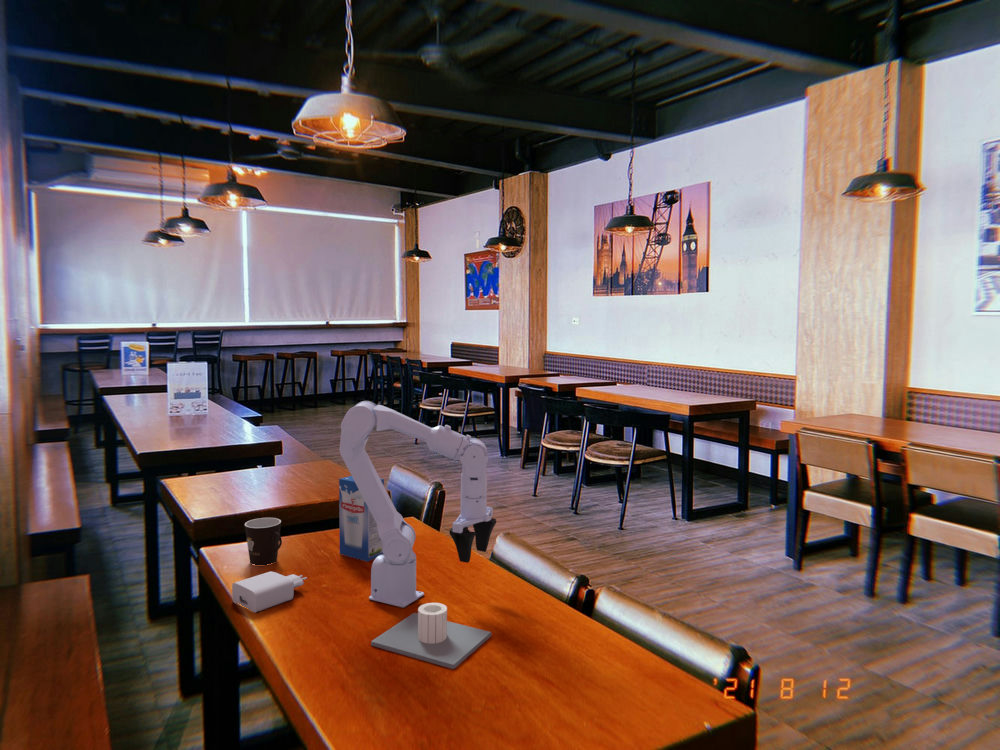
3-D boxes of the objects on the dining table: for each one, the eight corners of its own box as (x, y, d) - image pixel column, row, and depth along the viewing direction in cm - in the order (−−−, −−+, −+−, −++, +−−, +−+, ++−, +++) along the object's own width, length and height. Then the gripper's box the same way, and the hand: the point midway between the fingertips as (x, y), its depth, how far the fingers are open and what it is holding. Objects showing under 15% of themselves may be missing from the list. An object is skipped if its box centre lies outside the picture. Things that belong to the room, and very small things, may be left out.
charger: (316, 592, 148) (255, 615, 136) (292, 582, 153) (232, 602, 142) (316, 572, 147) (255, 592, 136) (292, 562, 153) (231, 581, 141)
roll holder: (371, 645, 123) (371, 628, 123) (414, 616, 135) (414, 600, 135) (453, 669, 115) (453, 651, 115) (491, 636, 127) (491, 619, 127)
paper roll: (412, 639, 124) (412, 611, 123) (428, 627, 129) (428, 600, 128) (436, 646, 121) (436, 617, 121) (452, 634, 126) (452, 606, 126)
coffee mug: (244, 558, 168) (243, 520, 167) (279, 553, 172) (278, 516, 171) (247, 574, 157) (246, 533, 157) (285, 568, 161) (284, 528, 160)
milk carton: (384, 554, 172) (384, 479, 170) (367, 561, 167) (367, 484, 165) (356, 547, 177) (356, 474, 176) (339, 554, 172) (338, 478, 170)
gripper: (473, 505, 135) (472, 570, 136) (505, 490, 148) (504, 549, 149) (444, 501, 138) (443, 564, 139) (477, 486, 151) (477, 544, 152)
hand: (473, 556), depth 144 cm, fingers open, 7 cm apart
